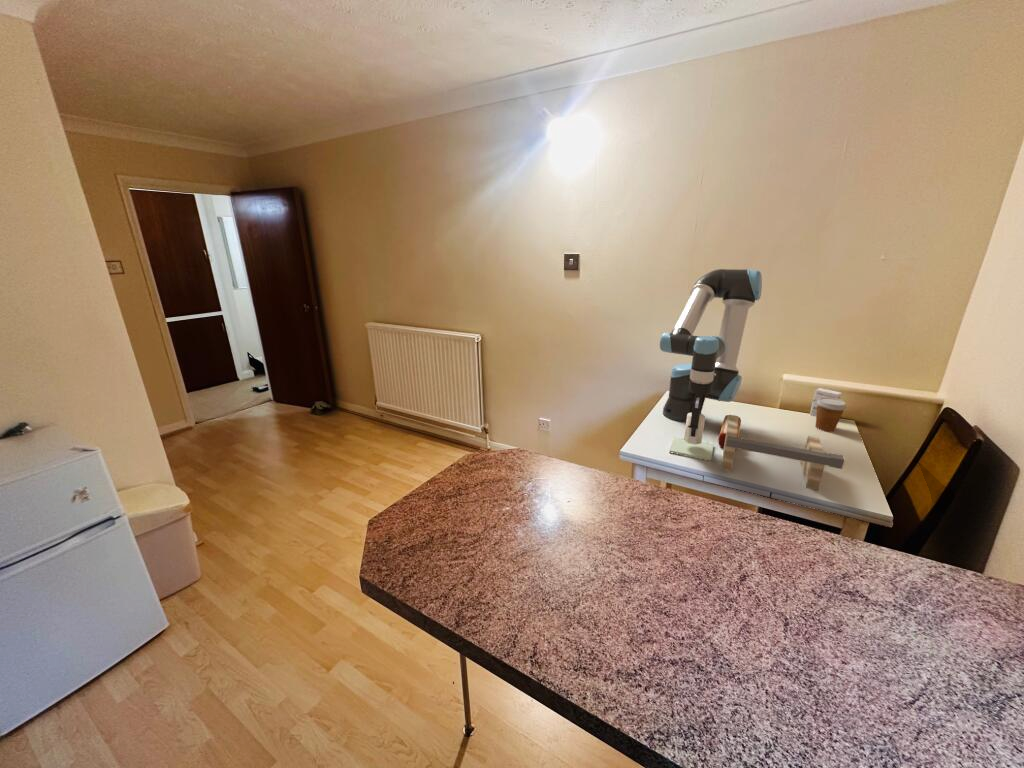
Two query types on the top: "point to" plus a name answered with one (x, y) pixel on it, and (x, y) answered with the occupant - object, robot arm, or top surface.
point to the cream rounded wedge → (700, 428)
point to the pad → (692, 449)
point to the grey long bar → (786, 451)
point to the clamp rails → (809, 469)
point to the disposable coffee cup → (829, 413)
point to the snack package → (727, 419)
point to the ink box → (823, 393)
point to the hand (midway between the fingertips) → (692, 439)
